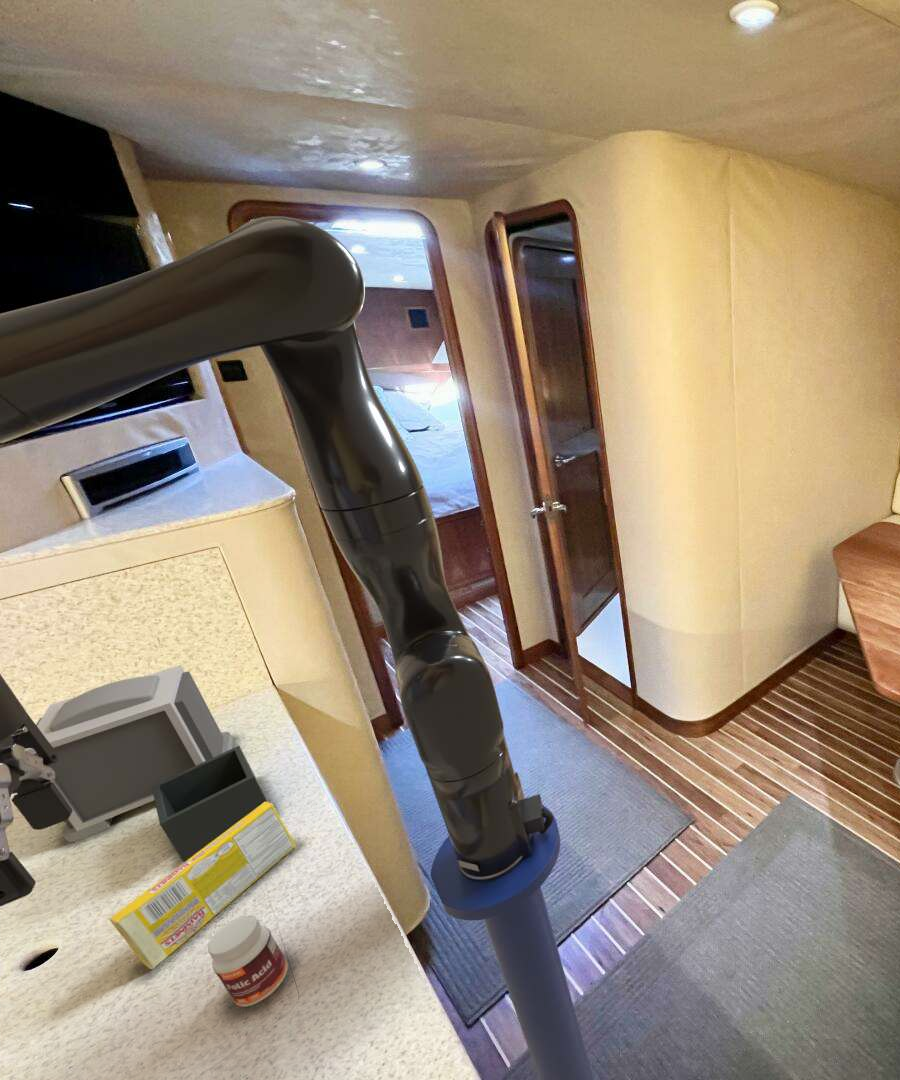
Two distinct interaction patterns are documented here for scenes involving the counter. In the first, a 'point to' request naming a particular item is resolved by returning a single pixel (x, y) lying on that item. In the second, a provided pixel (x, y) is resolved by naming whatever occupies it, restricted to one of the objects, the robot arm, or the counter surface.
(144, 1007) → the counter surface
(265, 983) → the pill bottle
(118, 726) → the crt monitor
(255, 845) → the candy box
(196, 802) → the open storage box
